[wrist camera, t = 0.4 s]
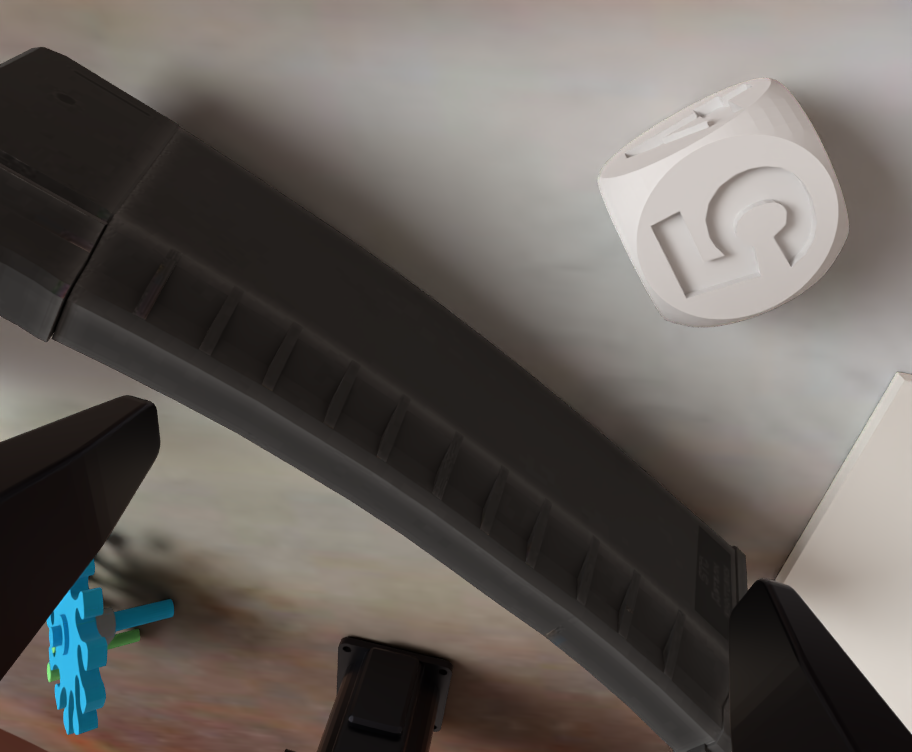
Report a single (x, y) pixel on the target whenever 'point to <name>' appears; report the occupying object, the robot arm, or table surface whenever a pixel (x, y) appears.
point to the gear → (89, 647)
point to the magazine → (355, 386)
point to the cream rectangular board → (867, 552)
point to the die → (727, 205)
